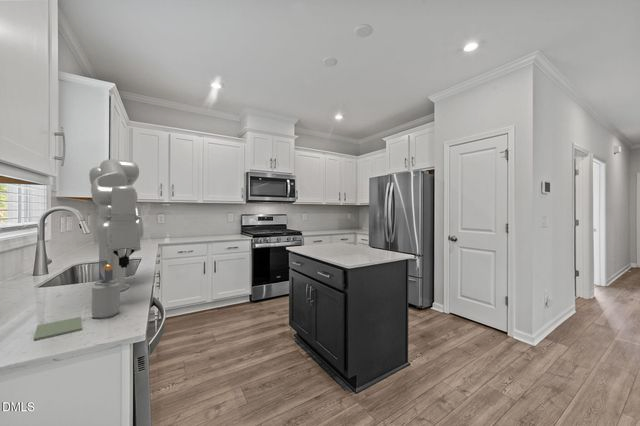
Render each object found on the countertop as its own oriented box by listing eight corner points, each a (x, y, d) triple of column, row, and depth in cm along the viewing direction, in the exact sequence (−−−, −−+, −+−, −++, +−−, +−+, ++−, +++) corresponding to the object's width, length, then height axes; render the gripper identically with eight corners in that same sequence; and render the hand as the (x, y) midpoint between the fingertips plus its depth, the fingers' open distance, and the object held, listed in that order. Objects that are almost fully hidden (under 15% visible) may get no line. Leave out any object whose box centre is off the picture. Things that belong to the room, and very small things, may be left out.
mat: (37, 327, 83) (37, 325, 83) (80, 318, 90) (80, 316, 90) (33, 340, 74) (33, 338, 74) (81, 330, 81) (82, 328, 81)
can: (113, 309, 98) (113, 276, 98) (123, 313, 94) (123, 279, 94) (88, 316, 91) (88, 281, 91) (97, 321, 88) (97, 284, 87)
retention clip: (98, 302, 101) (98, 256, 101) (107, 301, 103) (107, 256, 103) (103, 319, 86) (103, 265, 86) (113, 317, 87) (113, 264, 87)
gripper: (144, 218, 110) (145, 263, 110) (97, 219, 100) (97, 268, 100) (148, 218, 104) (149, 266, 104) (99, 219, 94) (99, 271, 94)
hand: (123, 267), depth 102 cm, fingers closed
